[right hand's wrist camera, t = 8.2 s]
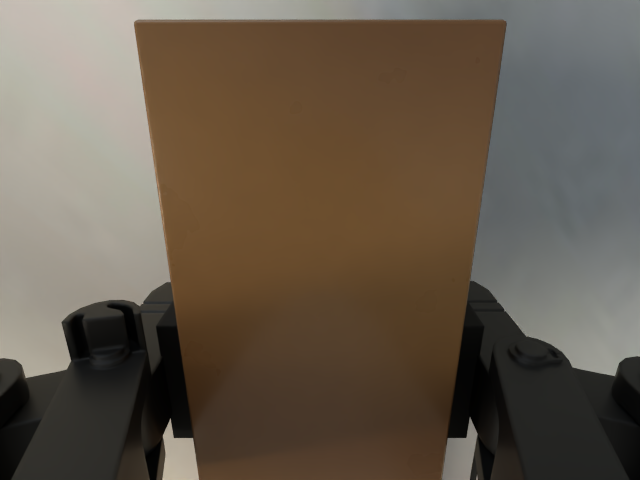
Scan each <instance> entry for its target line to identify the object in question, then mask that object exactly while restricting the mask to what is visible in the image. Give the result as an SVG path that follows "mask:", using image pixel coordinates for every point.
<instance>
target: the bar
mask: <svg viewBox="0 0 640 480" xmlns="http://www.w3.org/2000/svg"><path fill="white" fill-rule="evenodd" d="M134 27H135V34H136V41H137V48H138V55H139V62H140V69H141V76H142V83H143V90H144V97H145V104H146V111H147V118H148V125H149V132H150V139H151V146H152V153H153V160H154V167H155V174H156V181H157V188H158V195H159V202H160V209H161V216H162V223H163V230H164V237H165V244H166V251H167V258H168V265H169V272H170V279H171V286H172V293H173V300H174V307H175V314H176V321H177V328H178V335H179V342H180V349H181V356H182V363H183V370H184V377H185V384H186V391H187V398H188V405H189V412H190V419H191V426H192V433H193V440H194V447H195V454H196V461H197V468H198V475H199V480H442V474H443V467H444V459H445V452H446V445H447V438H448V431H449V424H450V417H451V410H452V403H453V396H454V389H455V382H456V375H457V368H458V361H459V354H460V347H461V340H462V333H463V326H464V319H465V312H466V305H467V298H468V291H469V284H470V277H471V270H472V263H473V256H474V249H475V242H476V235H477V228H478V221H479V214H480V207H481V200H482V193H483V186H484V179H485V172H486V165H487V158H488V151H489V144H490V137H491V130H492V123H493V116H494V109H495V102H496V95H497V88H498V81H499V74H500V67H501V60H502V53H503V46H504V39H505V32H506V21H504V20H137V21H135V22H134Z"/></svg>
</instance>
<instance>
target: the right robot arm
mask: <svg viewBox="0 0 640 480" xmlns="http://www.w3.org/2000/svg"><path fill="white" fill-rule="evenodd" d="M62 326H63V330H64V334H65V338H66V342H67V346H68V350H69V353H70V357H71V363H70V365H69V367H68V369H67V370H64V371H60V372H55V373H50V374H45V375H39V376H34V377H29V378H26V377H25V374H24V371H23V368H22V365H21V364H20V363H18V362H17V361H16V360H12V359H5V358H2V359H0V480H162V477H163V469H164V462H165V447H164V441H163V434H164V432H165V429H166V427H167V425H168V422H169V420H170V418H171V423H172V429H173V435H174V438H193V433H192V426H191V419H190V412H189V405H188V398H187V391H186V384H185V377H184V370H183V363H182V356H181V349H180V342H179V335H178V328H177V321H176V314H175V307H174V300H173V293H172V286H171V282H167V283H165V284H163V285H162V286H160V287H159V288H157V289H155V290H154V291H152V292H151V293H150V295H149V296H148V297H147V298H146V300H145V301H144V302H143V304H142V305H141V306H140V307H139V306H138V305H137V304H135V303H134V302H130V301H125V300H109V301H104V302H98V303H94V304H91V305H88V306H85V307H83V308H80V309H78V310H77V311H75V312H73V313H71V314H70V315H68V316H67V317H66V318H65V319H64V320H63V321H62ZM469 418H471V420H472V422H473V424H474V426H475V429H476V431H477V433H478V435H477V441H476V447H475V452H474V458H473V464H472V469H471V476H470V480H476V477H477V476H478V480H640V357H638V356H637V357H630V358H625V359H624V360H623V361H621V362H620V363H619V366H618V369H617V372H616V375H615V376H611V375H605V374H600V373H595V372H590V371H585V370H580V369H576V368H572V366H571V364H570V362H569V360H568V359H567V358H566V356H565V355H564V354H563V353H562V352H561V351H560V350H558V349H557V348H555V347H554V346H552V345H551V344H548V343H546V342H543V341H541V340H538V339H535V338H531V337H526V336H525V335H524V333H523V332H522V331H521V330H520V329H519V327H518V326H517V325H516V324H515V322H514V321H513V320H512V319H511V317H510V316H509V315H508V314H507V312H504V309H503V307H502V306H501V305H500V304H499V303H497V300H496V299H495V297H494V296H493V295H492V294H491V293H490V291H489V290H488V289H486V288H484V287H483V286H481V285H479V284H478V283H476V282H474V281H470V284H469V291H468V298H467V305H466V312H465V319H464V326H463V333H462V340H461V347H460V354H459V361H458V368H457V375H456V382H455V389H454V396H453V403H452V410H451V417H450V424H449V431H448V438H466V437H467V430H468V424H469Z"/></svg>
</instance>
